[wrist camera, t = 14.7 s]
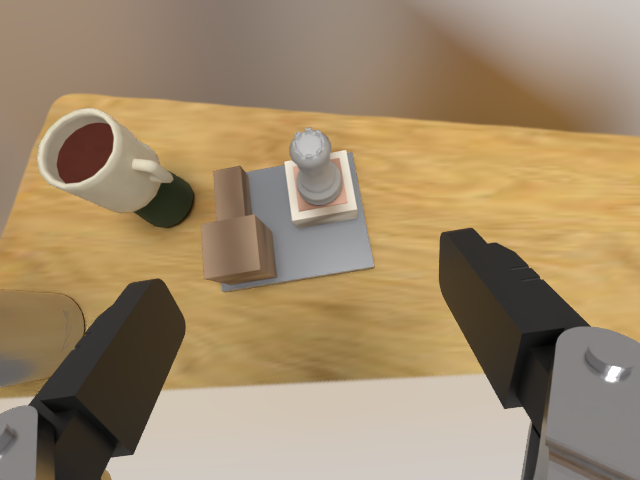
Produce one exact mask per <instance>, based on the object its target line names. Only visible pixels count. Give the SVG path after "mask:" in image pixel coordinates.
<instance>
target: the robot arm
mask: <svg viewBox="0 0 640 480" xmlns="http://www.w3.org/2000/svg"><path fill="white" fill-rule="evenodd" d="M439 284H440V288H441V292H442V295H443V297H444V299H445V301H446V303H447V305H448V307H449V309H450V310H451V312H452V314H453V316H454V318H455V320H456V321H457V323H458V325H459V327H460V329H461V331H462V332H463V334H464V336H465V338H466V340H467V342H468V343H469V345H470V347H471V349H472V351H473V352H474V354H475V356H476V358H477V360H478V362H479V363H480V365H481V367H482V369H483V371H484V373H485V374H486V376H487V378H488V380H489V382H490V384H491V385H492V387H493V389H494V391H495V393H496V395H497V396H498V398H499V400H500V402H501V404H502V406H503V407H504V409H507V408H515V407H523V408H524V409H525V411H526V413H527V414H528V416H529V417H530V419H531V423H530V426H529V431H528V438H527V444H526V450H525V457H524V463H523V470H522V476H521V480H640V343H638V342H637V341H635V340H633V339H631V338H629V337H627V336H625V335H622V334H620V333H617V332H614V331H611V330H608V329H603V328H598V327H591V326H590V325H589V324H588V323H587V322H586V321H585V320H584V319H583V318H582V317H581V316H580V315H579V314H578V313H577V312H576V311H575V310H574V309H573V308H572V307H570V306H569V305H568V304H567V303H566V302H565V301H564V300H563V299H562V298H561V297H560V296H559V295H558V294H557V293H556V292H555V291H554V290H553V289H552V288H551V287H550V286H549V285H548V284H547V283H546V282H545V281H544V280H541V279H540V276H539V275H538V274H537V273H536V272H535V271H534V270H533V269H532V268H529V267H528V264H527V263H526V262H525V261H523V260H522V259H521V258H520V257H519V256H518V255H517V254H516V253H515V252H514V251H512V250H510V249H508V248H506V247H504V246H502V245H500V244H498V243H489V244H487V243H486V242H485V240H484V239H483V238H482V237H481V236H480V235H479V234H478V233H477V232H476V231H475V230H474V229H473V228H466V229H460V230H454V231H448V232H443V233H442V234H441V236H440V254H439ZM185 328H186V327H185V320H184V317H183V315H182V313H181V311H180V309H179V307H178V306H177V304H176V302H175V300H174V298H173V297H172V295H171V293H170V291H169V289H168V288H167V286H166V284H165V283H164V282H163V281H162V280H161V279H151V280H145V281H139V282H133V283H130V284H129V285H128V286H127V287H126V288H125V290H124V291H123V292H122V293H121V295H120V296H119V297H118V299H117V300H116V301H115V303H114V304H113V305H112V306H111V307H109V308H108V309H107V310H106V311H105V312H103V313H102V314H101V315H100V316H99V317H97V319H96V320H95V321H94V322H93V324H92V325H91V326H90V328H89V329H88V330H87V331H86V333H85V336H83V334H84V320H83V316H82V312H81V310H80V309H79V307H78V305H77V304H76V303H75V302H74V301H73V300H72V299H71V298H69V297H67V296H65V295H62V294H57V293H43V292H30V291H18V290H4V289H0V388H1V387H7V386H12V385H17V384H21V383H26V382H31V381H36V380H41V379H46V378H49V377H50V378H49V380H48V381H47V382H46V383H45V385H44V386H43V387H42V389H41V390H40V391H39V392H38V394H37V395H36V396H35V397H34V399H33V400H32V401H31V403H30V404H29V405H28V406H19V407H16V408H12V409H10V410H7V411H5V412H3V413H1V414H0V480H111V477H110V474H109V473H108V471H106V470H105V468H106V466H107V464H108V462H109V460H110V458H111V457H119V456H127V455H133V454H134V452H135V450H136V447H137V445H138V443H139V440H140V438H141V435H142V433H143V431H144V429H145V426H146V424H147V422H148V419H149V417H150V414H151V412H152V410H153V408H154V406H155V403H156V401H157V398H158V396H159V394H160V392H161V389H162V387H163V385H164V382H165V380H166V378H167V375H168V373H169V371H170V368H171V366H172V364H173V361H174V359H175V357H176V355H177V352H178V350H179V348H180V345H181V343H182V341H183V338H184V335H185Z"/></svg>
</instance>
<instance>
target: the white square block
mask: <svg viewBox="0 0 640 480" xmlns="http://www.w3.org/2000/svg"><path fill="white" fill-rule="evenodd" d="M330 161H331V162H332V163H334V164H335V165H336V166H337V167H338V169H339V171H340V173H341V177H342V189H341V191H340V194H339V195H338V196H337V197H336V198H335V199H334V200H333V201H332V202H329V203H327V204H325V205H314V204H311V203H307V202H306V201H305V200H304V199H303V198H302V197H301V196H300V194H299V192H298V189H297V182H296V177H297V174H298V172H299V168H298V166H297V164H295V163H294V162H293V161H287V162H284V163H285V170H286V178H287V185H288V193H289V201H290V208H291V216H292V221H293V223H294V224H295V226H296V227H297V229H300V228H306V227H312V226H317V225H323V224H329V223H334V222H340V221H346V220H352V219H357V205H356V200H355V195H354V190H353V184H352V179H351V174H350V168H349V163H348V158H347V152H346V150H344V151H339V152H334V153H330Z"/></svg>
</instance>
